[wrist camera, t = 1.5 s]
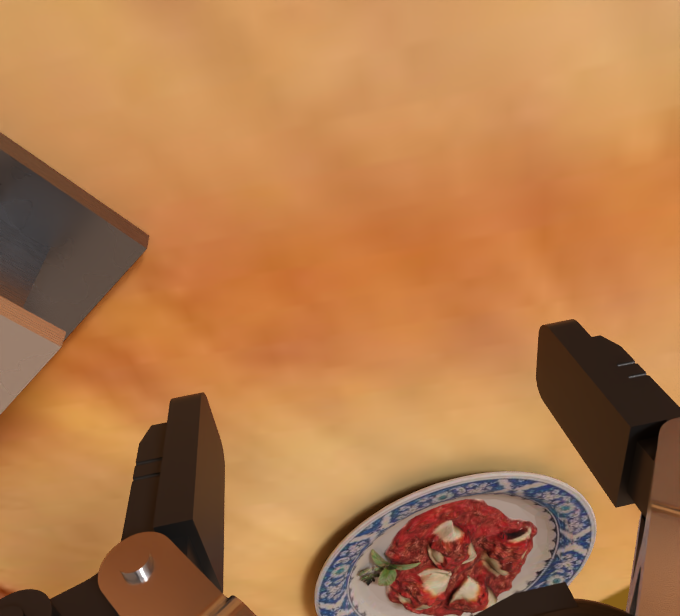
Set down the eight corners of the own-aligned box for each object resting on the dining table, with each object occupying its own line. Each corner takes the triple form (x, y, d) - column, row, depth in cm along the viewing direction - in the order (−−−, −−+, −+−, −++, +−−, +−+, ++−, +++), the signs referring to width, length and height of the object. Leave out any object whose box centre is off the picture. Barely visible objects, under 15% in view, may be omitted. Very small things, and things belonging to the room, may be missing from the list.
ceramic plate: (639, 484, 54) (659, 511, 51) (481, 641, 64) (492, 670, 62) (404, 422, 43) (416, 452, 41) (263, 621, 54) (266, 654, 52)
